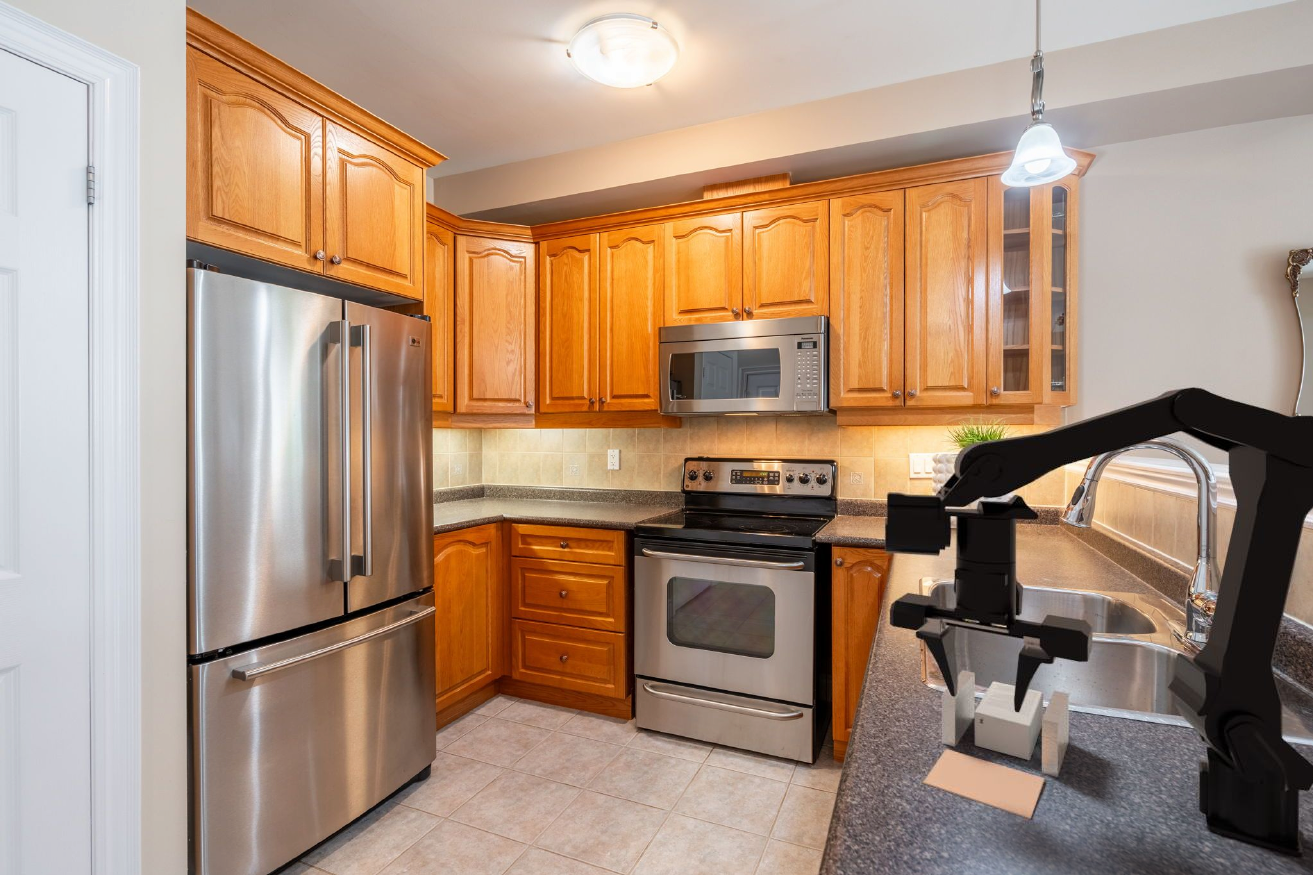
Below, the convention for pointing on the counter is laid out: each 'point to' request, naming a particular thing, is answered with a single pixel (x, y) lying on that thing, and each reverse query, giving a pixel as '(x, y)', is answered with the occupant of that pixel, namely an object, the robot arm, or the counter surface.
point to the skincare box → (1008, 721)
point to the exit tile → (986, 783)
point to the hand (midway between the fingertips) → (985, 702)
